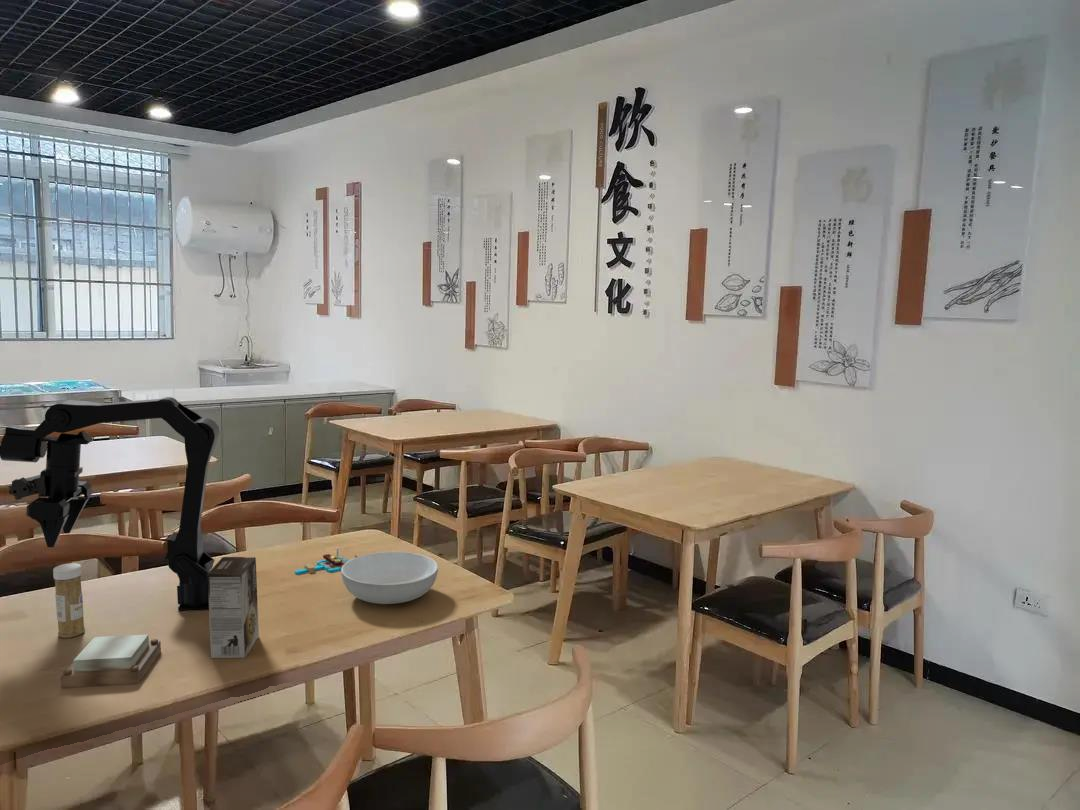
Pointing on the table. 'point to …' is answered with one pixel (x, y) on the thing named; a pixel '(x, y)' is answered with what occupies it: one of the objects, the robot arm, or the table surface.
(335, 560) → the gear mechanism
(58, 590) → the sprinkles bottle
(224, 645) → the coffee box
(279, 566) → the table surface
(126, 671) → the brick tower base
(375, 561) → the serving bowl
